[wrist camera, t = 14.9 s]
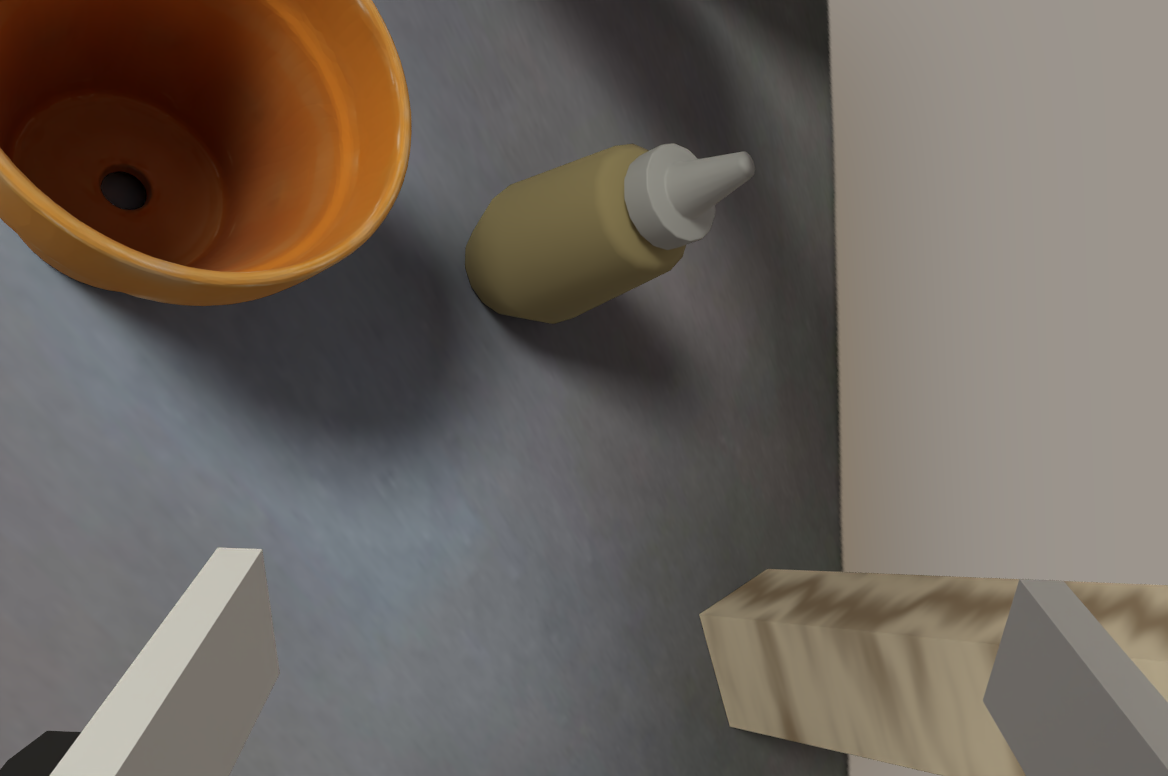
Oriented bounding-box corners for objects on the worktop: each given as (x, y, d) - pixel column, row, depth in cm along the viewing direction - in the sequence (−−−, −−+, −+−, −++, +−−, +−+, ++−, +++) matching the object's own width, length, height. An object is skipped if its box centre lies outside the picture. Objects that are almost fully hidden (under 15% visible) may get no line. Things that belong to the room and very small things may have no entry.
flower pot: (277, 76, 41) (400, -69, 31) (294, 357, 39) (428, 299, 30) (-91, -11, 32) (-82, -257, 22) (-86, 351, 30) (-74, 263, 20)
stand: (724, 748, 55) (1368, 914, 31) (685, 606, 54) (1310, 664, 30) (805, 678, 61) (1389, 770, 37) (771, 551, 61) (1341, 562, 37)
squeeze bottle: (521, 184, 50) (757, 53, 36) (578, 303, 52) (824, 221, 38) (421, 228, 45) (651, 95, 31) (487, 358, 47) (733, 286, 33)
